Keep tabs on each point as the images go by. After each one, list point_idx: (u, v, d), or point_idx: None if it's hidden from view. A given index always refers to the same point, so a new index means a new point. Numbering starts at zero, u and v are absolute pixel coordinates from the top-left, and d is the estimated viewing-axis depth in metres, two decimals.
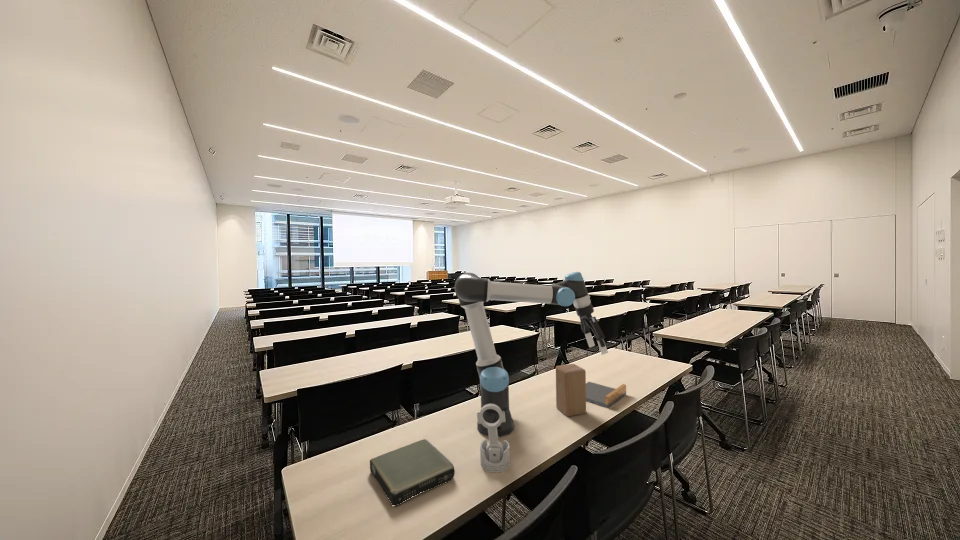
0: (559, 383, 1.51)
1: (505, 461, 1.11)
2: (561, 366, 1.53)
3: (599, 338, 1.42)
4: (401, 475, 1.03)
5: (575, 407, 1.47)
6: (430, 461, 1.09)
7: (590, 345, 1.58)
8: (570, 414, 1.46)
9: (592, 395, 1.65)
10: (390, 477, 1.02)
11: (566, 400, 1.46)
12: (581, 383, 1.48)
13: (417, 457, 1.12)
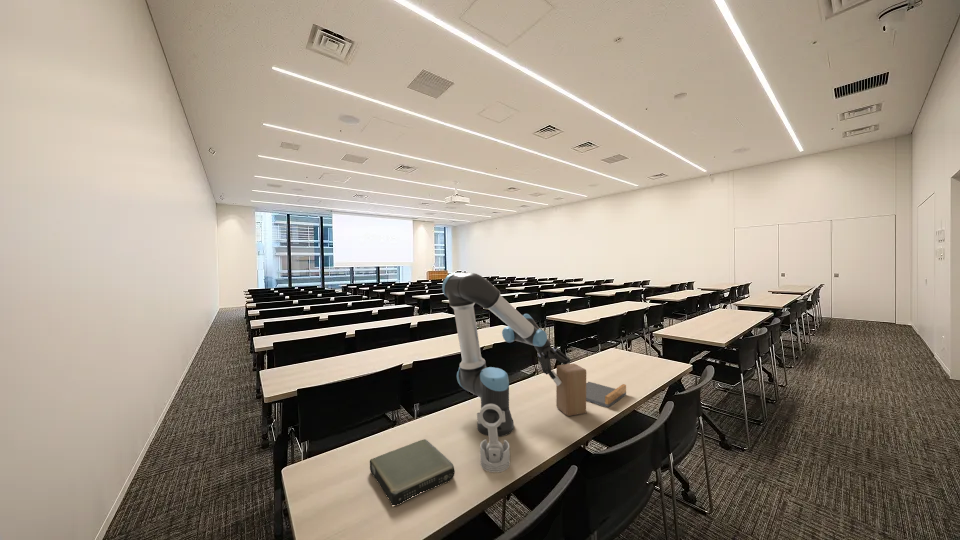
0: None
1: (505, 461, 1.11)
2: (562, 365, 1.53)
3: None
4: (401, 475, 1.03)
5: (575, 407, 1.47)
6: (430, 461, 1.09)
7: None
8: (570, 414, 1.46)
9: (592, 395, 1.65)
10: (390, 477, 1.02)
11: (566, 400, 1.46)
12: (582, 383, 1.48)
13: (417, 457, 1.12)
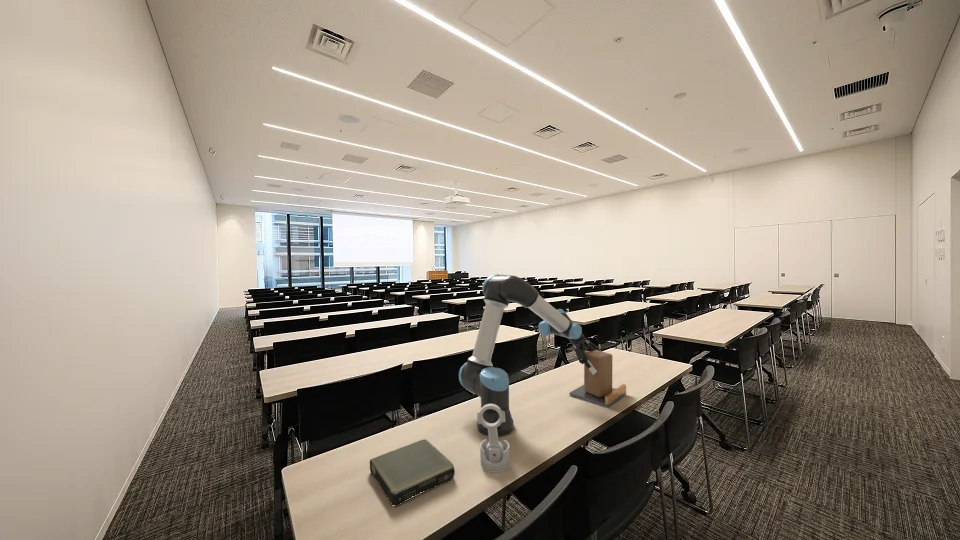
0: None
1: (505, 461, 1.11)
2: (590, 352, 1.67)
3: (601, 350, 1.76)
4: (401, 475, 1.03)
5: (605, 389, 1.62)
6: (430, 461, 1.09)
7: None
8: (602, 395, 1.61)
9: (592, 395, 1.65)
10: (390, 477, 1.02)
11: (598, 383, 1.61)
12: (610, 367, 1.64)
13: (417, 457, 1.12)
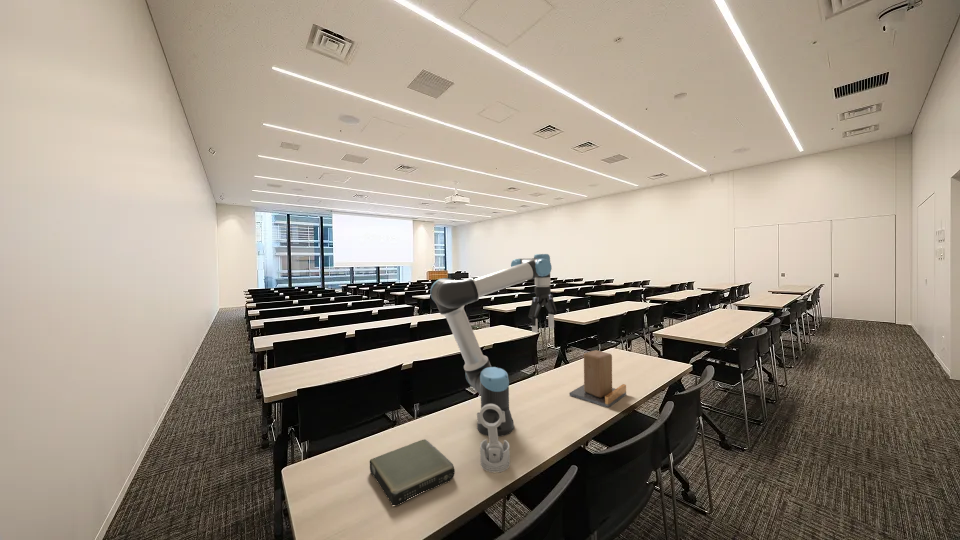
0: (589, 369, 1.65)
1: (505, 461, 1.11)
2: (589, 353, 1.67)
3: (556, 310, 1.68)
4: (402, 475, 1.03)
5: (605, 389, 1.62)
6: (430, 461, 1.09)
7: None
8: (602, 395, 1.61)
9: (592, 395, 1.65)
10: (390, 477, 1.02)
11: (598, 383, 1.61)
12: (609, 367, 1.64)
13: (417, 457, 1.12)
